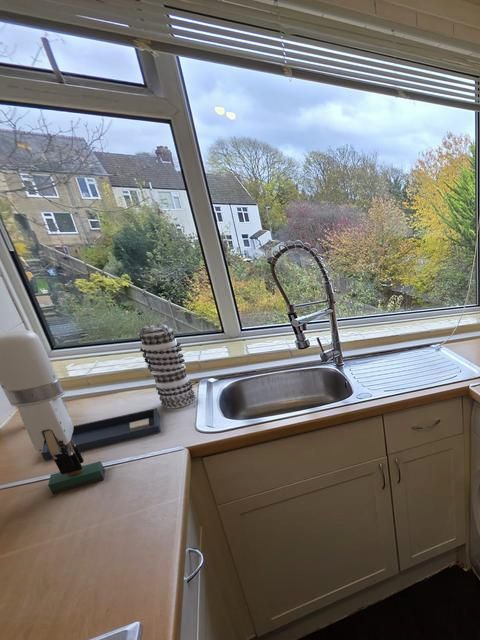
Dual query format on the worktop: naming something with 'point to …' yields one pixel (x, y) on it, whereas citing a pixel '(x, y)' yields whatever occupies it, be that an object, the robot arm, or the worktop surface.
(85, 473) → the brush
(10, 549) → the worktop surface
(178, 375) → the black white patterned cylinder
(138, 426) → the cream square tile
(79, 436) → the tray
